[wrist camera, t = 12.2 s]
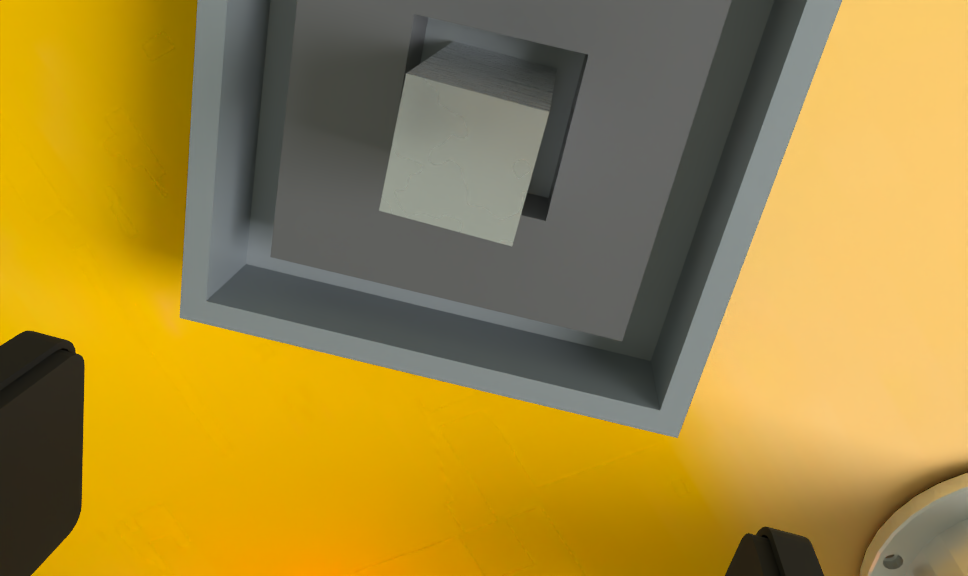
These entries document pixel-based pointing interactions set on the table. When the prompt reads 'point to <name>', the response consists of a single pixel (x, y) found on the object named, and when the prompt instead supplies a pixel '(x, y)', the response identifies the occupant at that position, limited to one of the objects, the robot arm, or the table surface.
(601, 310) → the box
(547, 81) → the peg
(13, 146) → the table surface
